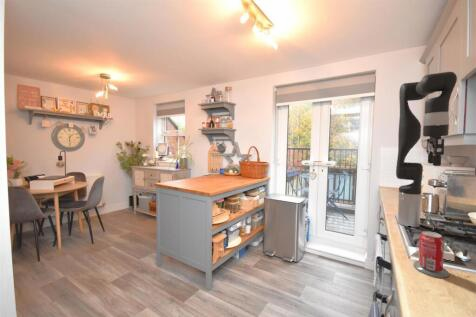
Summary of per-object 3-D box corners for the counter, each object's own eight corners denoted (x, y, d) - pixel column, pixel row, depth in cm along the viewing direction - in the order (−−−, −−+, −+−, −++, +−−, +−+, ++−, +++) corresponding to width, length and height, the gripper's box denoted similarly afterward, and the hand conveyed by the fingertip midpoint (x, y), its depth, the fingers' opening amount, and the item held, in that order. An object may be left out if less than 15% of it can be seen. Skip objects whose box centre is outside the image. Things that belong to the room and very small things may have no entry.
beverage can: (435, 264, 75) (437, 231, 75) (447, 274, 69) (449, 238, 69) (414, 261, 77) (415, 229, 76) (424, 271, 71) (426, 236, 70)
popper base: (424, 249, 87) (425, 242, 87) (448, 253, 83) (448, 246, 83) (428, 257, 81) (429, 249, 81) (454, 262, 77) (454, 254, 77)
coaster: (411, 260, 79) (411, 258, 79) (444, 267, 75) (444, 265, 74) (415, 272, 72) (415, 270, 72) (452, 281, 67) (452, 279, 67)
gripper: (419, 125, 93) (418, 162, 94) (427, 124, 81) (425, 166, 82) (443, 124, 89) (441, 163, 90) (454, 122, 77) (452, 167, 78)
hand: (433, 164), depth 86 cm, fingers open, 8 cm apart
